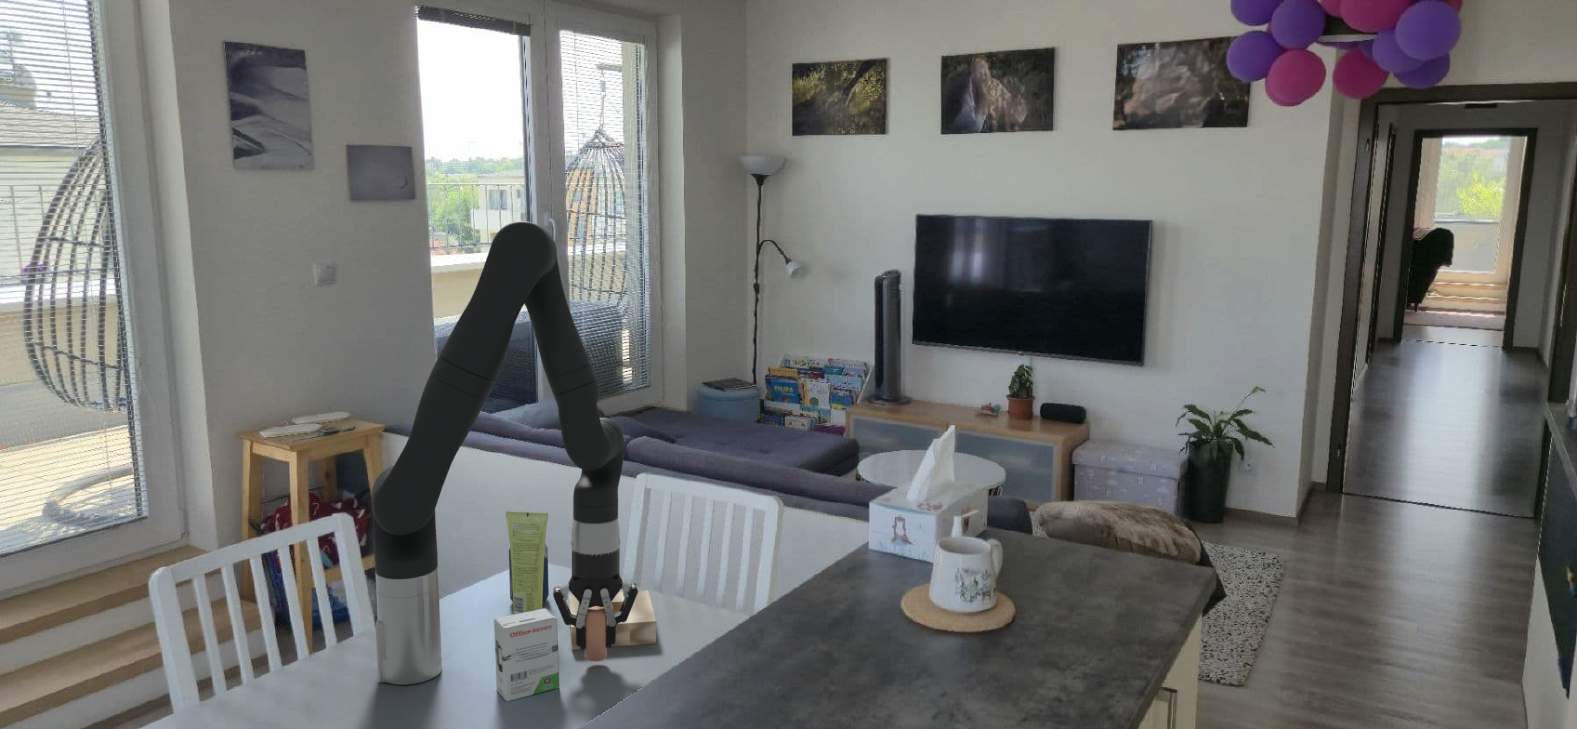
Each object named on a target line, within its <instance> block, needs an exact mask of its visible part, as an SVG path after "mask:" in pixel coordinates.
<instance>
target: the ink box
mask: <svg viewBox="0 0 1577 729" xmlns="http://www.w3.org/2000/svg"><path fill="white" fill-rule="evenodd" d="M493 623H494V624H493V625H494V627H493V629H494V630H493V631H494V655H495V676H496V679H495V680H496V681H495V682H496V691H497V692H498V693H499V695H500V696H501V695H502V696H503V697H502V698H503V699H504V700H505V701H506V702H511V701H515V700H518V699H522V698H525V697H529V696H533V695H536V694H537V695H538V694H541V693H544V692H549V691H552V690H555V689H560V686H561V685H560V666H559V664H560V663H559V662H560V661H559V660H560V659H559V641H558V640H559V639H558V638H559V634H558V632H559V631H558V618H557V617H556V616H555V615H554V614H553V612H551V611H550V610H549V609H548V608H546V607H544V608H542V609H539V610H535V611H530V612H525V613H520V614H515V615H514V614H511V615H506V616H501V617H496V618H494V620H493Z"/></svg>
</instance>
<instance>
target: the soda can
mask: <svg viewBox="0 0 1577 729" xmlns="http://www.w3.org/2000/svg"><path fill="white" fill-rule="evenodd" d="M548 551H549V550H548V546H547V544H546V543H545V552H544V571H543V599H542V604H543V605H544V604H545V603H546V601H547V599H548V597H549V595H550V594H549V592H550V591H549V590H550V588H549V552H548ZM508 566H509V568H508V570H509V572H508V573H509V598H510V601H511V602H512V603H513V583H512V566H511V552H510V548H508Z"/></svg>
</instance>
